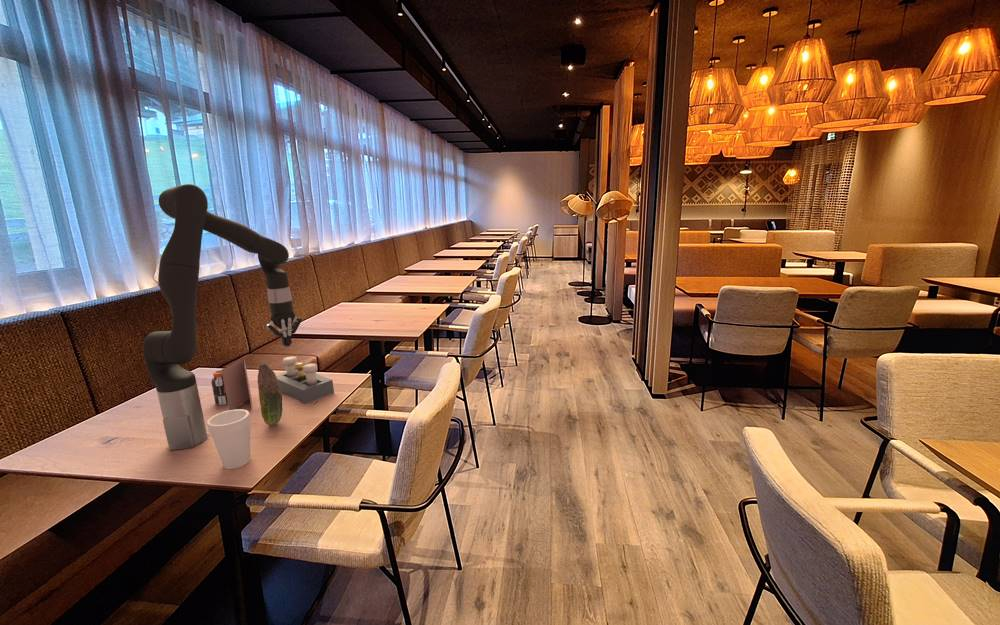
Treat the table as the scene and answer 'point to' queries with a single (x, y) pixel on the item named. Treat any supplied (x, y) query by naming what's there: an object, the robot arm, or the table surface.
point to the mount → (305, 388)
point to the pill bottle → (219, 388)
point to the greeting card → (236, 384)
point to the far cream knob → (290, 366)
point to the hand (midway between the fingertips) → (287, 345)
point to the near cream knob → (310, 373)
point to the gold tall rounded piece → (300, 370)
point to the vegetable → (269, 395)
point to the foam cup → (231, 437)
